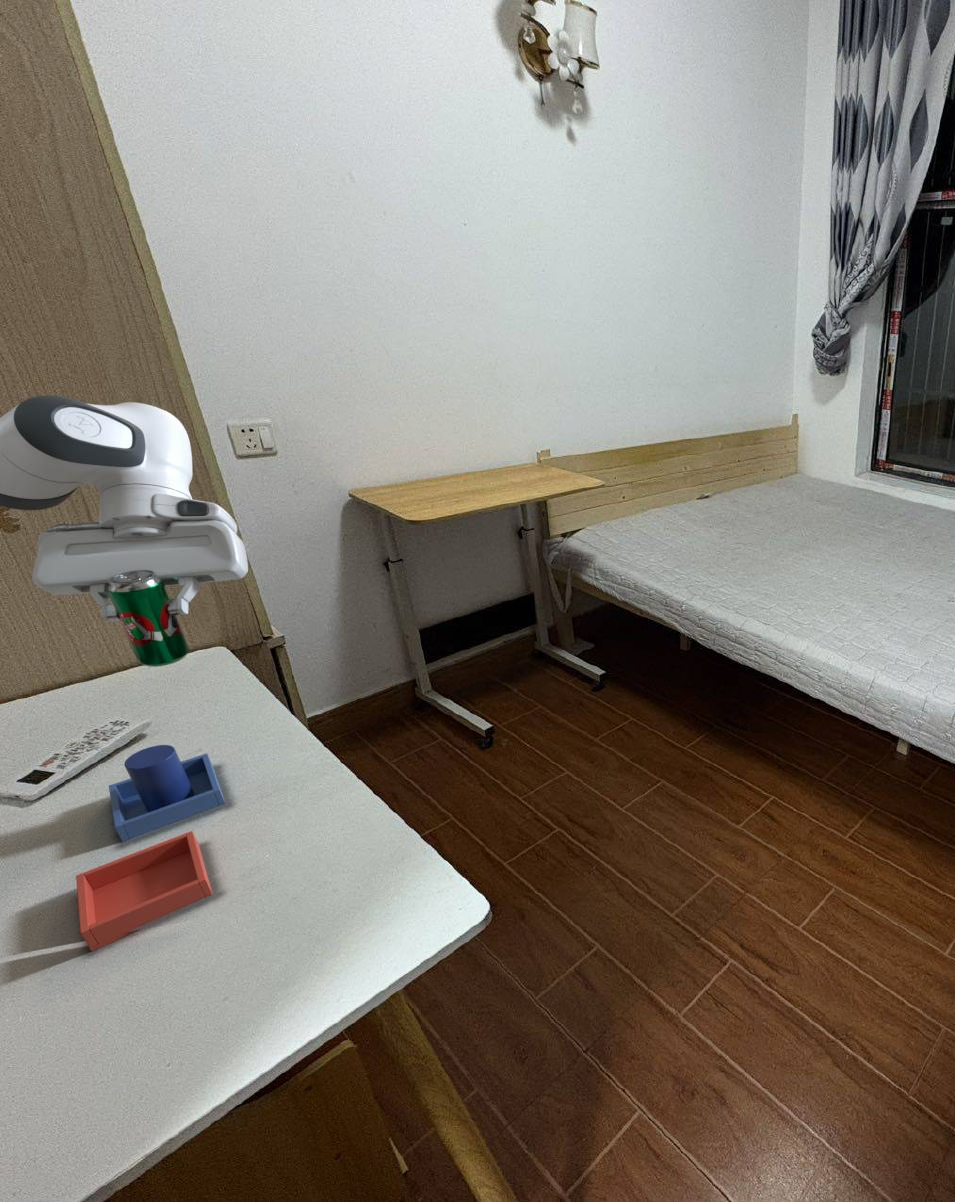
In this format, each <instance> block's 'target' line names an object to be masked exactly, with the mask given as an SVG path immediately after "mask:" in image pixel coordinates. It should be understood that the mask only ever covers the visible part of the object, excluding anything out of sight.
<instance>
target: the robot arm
mask: <svg viewBox="0 0 955 1202" xmlns="http://www.w3.org/2000/svg"><path fill="white" fill-rule="evenodd" d="M192 479H193V454H192V446H191V441H190V438H189V435H188V431H187V430H186V428H185V427H184V425H183V423H182V422H181V421H180V420H179V419H178V418H177V417H176V416H174V415H173V414H172V413H170V412H168V411H167V410H165V409H163V408H160V407H158V406H155V405H151V404H147V403H143V402H135V401H125V402H121V403H117V404H93V403H85V402H82V401H80V400H77V399H74V398H70V397H66V396H61V395H51V394H49V395H48V394H47V395H46V394H45V395H44V394H43V395H36V396H32V397H29V398H27V399H25V400H23V401H22V402H20V403H18V404H17V405H16V406H14V407H12V409H10V410H9V411H7V412H6V413H5V414H4V415H2V416H1V417H0V506H1V507H3V508H6V509H7V508H8V509H11V510H19V511H42V510H47V509H50V508H55V507H56V506H57V507H58V506H59V505H60V504H62V503H63V502H65V501H66V500H67V499H69V498H70V497H71V495H73V493H75V492H76V491H77V490H78V489H79V487H81V486H82V485H84V484H86V485H91V486H94V487H95V488H96V489H98V491H99V514H98V515H99V516H98V521H91V522H81V523H80V522H79V523H60V524H59V523H58V524H55V525H54V526H53V527H51V528H48V529H46V530H44V531H42V532H41V533H40V534H39V535H38V537H37V550H38V551H37V554H36V558H35V561H34V565H33V566H34V567H33V570H32V576H31V577H32V582H33V583H34V584H35V585H36V586H37V587H38V588H39V589H40V590H43V591H45V592H47V593H49V594H51V595H53V596H69V595H78V594H79V595H80V594H89V595H90V596H91V597H92V598H93V600H95V601H96V603H97V604H98V605H99V606H100V607H101V612H100V614H101V615H100V617H101V619H102V621H104V622H107V623H114V622H115V623H116V622H121V621H120V619H119V616H118V614H117V612H116V609H115V607H114V605H113V603H112V601H110V599H111V598H110V596H109V593H108V591H107V588H108V586H109V583H108V579H109V578H111V577H113V576H115V575H118V574H121V573H125V572H129V571H136V570H151V571H154V572H155V573H156V575H157V576H158V577H160V578H161V579H162V580H163V583H164V585H165V587H172V586H179V587H181V590H180V591H179V593H178V594H177V595H176V596H175V598H170V599H168V605H169V606H168V607H167V609H168V612H169V613H170V614H172V615H176V616H182V615H183V616H184V615H188V614H189V603H190V602H191V601H192V600H193V599H194V597H196V595H197V594H198V592H200V584H204V583H215V582H217V583H218V582H227V581H228V582H229V581H238V580H242V579H243V578H244V577H245V576H246V575H247V574H248V572H249V563H248V562H249V561H248V556H247V551H246V548H245V544H244V542H243V540H242V539H241V538H240V537H239V536H238V535H237V533H238V524H237V523H236V521H235V519H234V518H233V517H232V516H231V514H229V513H228V511H227V510H225V509H224V508H223V507H221V506H220V505H219V504H217V503H215V502H209V501H204V500H197V499H193V497H192V494H191V492H190V484H191V482H192Z"/></svg>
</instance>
